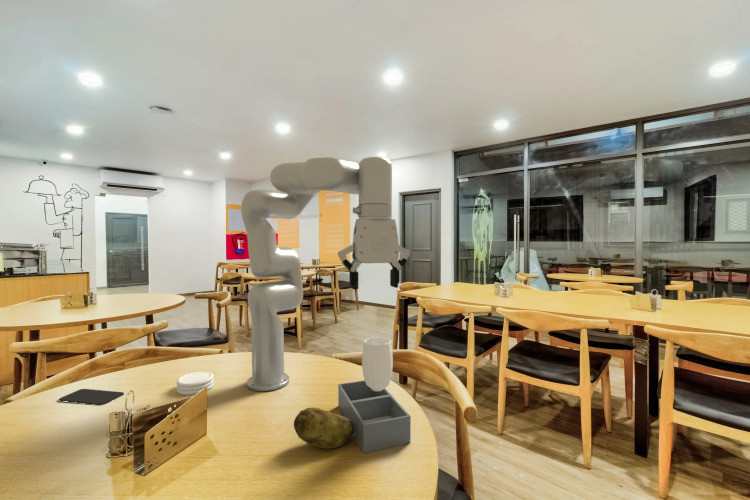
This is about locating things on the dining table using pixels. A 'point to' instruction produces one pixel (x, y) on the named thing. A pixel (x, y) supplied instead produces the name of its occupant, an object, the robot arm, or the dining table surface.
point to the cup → (377, 362)
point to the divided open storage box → (374, 416)
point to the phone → (92, 396)
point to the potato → (323, 428)
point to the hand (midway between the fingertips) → (374, 287)
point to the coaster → (194, 382)
